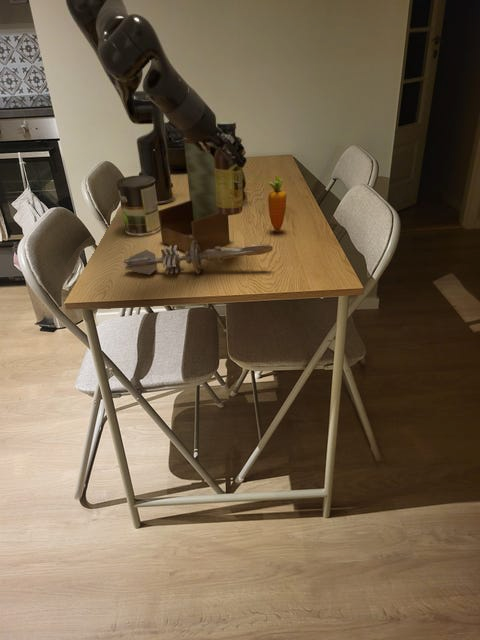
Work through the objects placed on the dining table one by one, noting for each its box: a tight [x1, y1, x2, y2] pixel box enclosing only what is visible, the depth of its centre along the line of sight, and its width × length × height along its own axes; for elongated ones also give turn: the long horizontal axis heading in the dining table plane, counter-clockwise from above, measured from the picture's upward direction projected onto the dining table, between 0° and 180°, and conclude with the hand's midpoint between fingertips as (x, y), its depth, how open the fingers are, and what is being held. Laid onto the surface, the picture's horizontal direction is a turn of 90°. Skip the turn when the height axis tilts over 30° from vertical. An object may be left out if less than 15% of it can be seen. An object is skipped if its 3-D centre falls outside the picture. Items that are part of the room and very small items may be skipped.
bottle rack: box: [158, 138, 231, 253], centre depth 119 cm, size 14×12×25 cm
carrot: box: [267, 175, 287, 233], centre depth 126 cm, size 5×5×15 cm
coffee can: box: [116, 174, 161, 237], centre depth 132 cm, size 10×10×14 cm
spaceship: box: [123, 239, 274, 276], centre depth 109 cm, size 8×35×8 cm
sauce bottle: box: [214, 120, 244, 216], centre depth 107 cm, size 6×6×20 cm
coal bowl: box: [164, 120, 187, 170], centre depth 187 cm, size 20×20×19 cm
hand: (233, 161), depth 107 cm, fingers closed on sauce bottle, 6 cm apart
